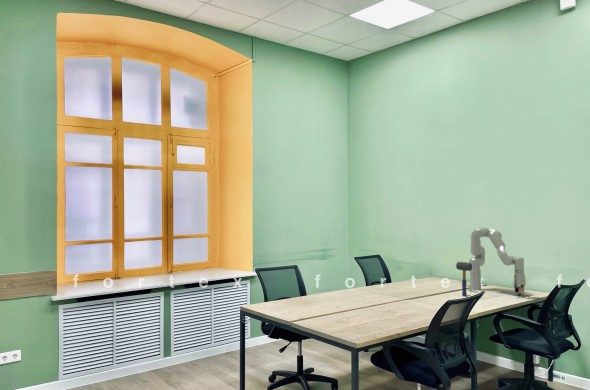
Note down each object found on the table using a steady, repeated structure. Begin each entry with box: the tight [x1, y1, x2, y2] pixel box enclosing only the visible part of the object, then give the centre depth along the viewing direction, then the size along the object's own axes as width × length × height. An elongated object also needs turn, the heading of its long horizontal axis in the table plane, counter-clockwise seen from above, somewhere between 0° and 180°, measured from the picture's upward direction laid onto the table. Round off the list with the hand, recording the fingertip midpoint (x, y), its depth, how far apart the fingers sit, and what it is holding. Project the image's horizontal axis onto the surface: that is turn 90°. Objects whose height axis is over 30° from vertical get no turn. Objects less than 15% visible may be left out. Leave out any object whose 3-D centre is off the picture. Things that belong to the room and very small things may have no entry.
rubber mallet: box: [455, 261, 472, 297], centre depth 398 cm, size 12×8×30 cm, turn 41°
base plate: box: [497, 290, 529, 298], centre depth 399 cm, size 24×12×2 cm, turn 27°
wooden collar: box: [514, 285, 525, 294], centre depth 393 cm, size 8×7×5 cm
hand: (519, 291), depth 393 cm, fingers closed on wooden collar, 6 cm apart
